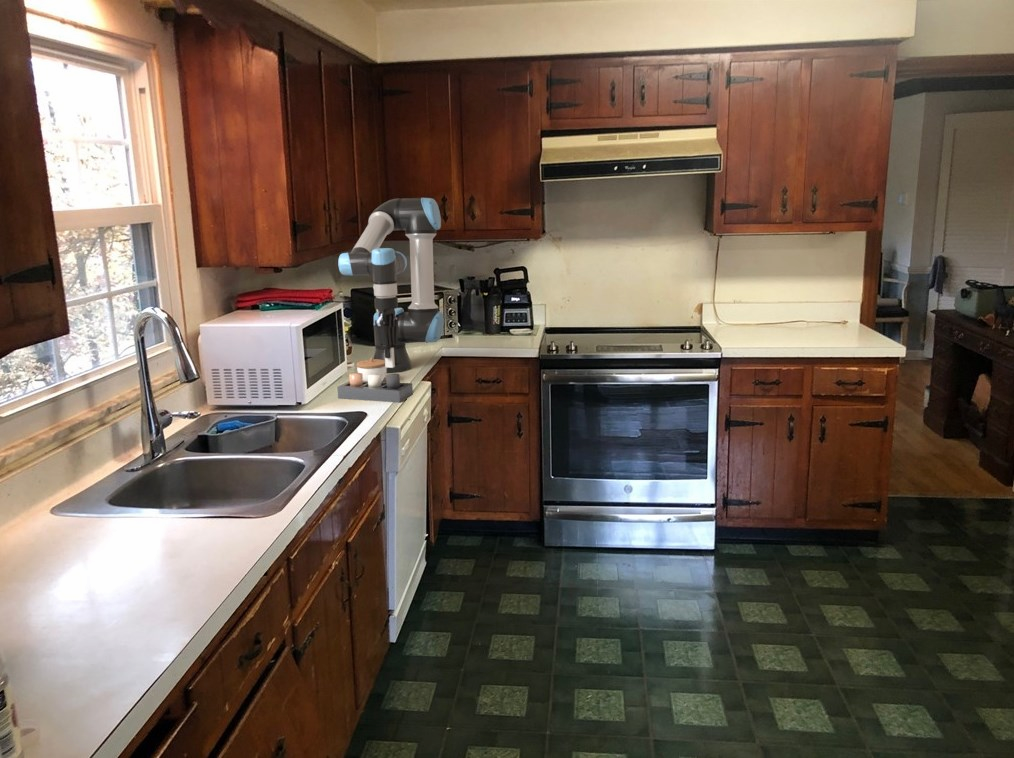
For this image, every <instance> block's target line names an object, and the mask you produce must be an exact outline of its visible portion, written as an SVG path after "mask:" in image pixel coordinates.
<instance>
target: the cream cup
mask: <svg viewBox="0 0 1014 758" xmlns="http://www.w3.org/2000/svg"><path fill="white" fill-rule="evenodd" d="M381 386H382V385H381V374H370V375H368V387H374V388H379V387H381Z"/></svg>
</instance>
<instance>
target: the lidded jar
mask: <svg viewBox="0 0 1014 758" xmlns="http://www.w3.org/2000/svg"><path fill="white" fill-rule="evenodd" d="M373 358H374V357H370V358H369V359H364V360H359V361H357V363H356V368H357V369H356V370H357V373H362V376H363V381H368V375H370V374H381V382H384V380H385V379H386V375H387V373H386V372H387V367H385V360H380V359H373Z"/></svg>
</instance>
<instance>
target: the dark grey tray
mask: <svg viewBox="0 0 1014 758" xmlns="http://www.w3.org/2000/svg"><path fill="white" fill-rule="evenodd" d="M381 385H382V386H381V387H379V388H374V387H368V381H363V385H362V386H360V387H358V386H350V380H349V381H347V382H344V383H343V384H340V385H338V386H336V387H337V398H338V399H342V400H359V401H369V402H370V401H374V402H375V401H376V402H384V403H385V402H388V403H401V402H403V401H405V400H407V399H408V398H410V397H412V396H413V394H414V392H413V391H414V390H413V383H408V382H400V388H399V389H390V388H387V381H382V382H381Z"/></svg>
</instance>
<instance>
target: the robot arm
mask: <svg viewBox="0 0 1014 758" xmlns="http://www.w3.org/2000/svg"><path fill="white" fill-rule="evenodd" d="M439 208H440V207H439V205H438V202H437V201H436V200H435V198H431V197H412V198H411V197H410V198H407V197H406V198H393V199H392V198H391V199H389V200H387V201H386V202H384V203H381V204H380V205H379V206H377V208H375V209H374V210H373V211H372V213H370V215H369V217H368V222H367V226H366V227H365V229H364V231H363V232H362V234H361V235H360V237H359V239H358V240H357V242H356V243H355V244H354V246H353V248H352V250H351V252H344V253H343V252H342V253H341V254H340V255H339V257H338V259H337V260H338V262H337V263H338V264H337V265H338V270H339V272H340V274H341V275H344V276H351V277H352V276H372V281H373V283H372V284H373V286H372V289H373V296H374V309H376V310H377V311H376V312H375V313H374V315H373V323H372V324H373V332H374V333H373V335H374V347H375V350H374V354H373V357H372V358H373V359H380V360H385V367H387V372H386V374H390V373H400V372H405V371H408V370H410V369H411V368H412V361H411V358H410V356H409V354H408V350H407V347H406V343H426V344H428V343H436V342H438V341H439V340H440V339H441V337H442V334H443V329H444V323H445V319H444V313H443V312H441V311H439V306H438V304H436V302H435V283H434V282H435V281H434V275H435V274H434V247H433V242H434V241H433V239H434V238H435V237H436V236H437V231H438V230H440V229H441V228H442V227H441V226H442V218H441V213H440V212H441V211H440V209H439ZM393 231H394V232H395V231H405V235H404V236H406V237H407V238H408V239H409V255H410V256H409V258H410V260H409V262H410V288H411V289H410V291H411V303H410V305H409V306H407V311H405V310H404V308H402V307H399V301H398V299H399V298H398V283H397V275H399V274H401V273H403V272H404V271H405V270H406V268H407V266H408V260H407V257H406V256H405V255H404V254H403V253H402V252H400V251H395V249H394V248H391V247H390V248H389V247H385V248H384V247H381V246H382V244H383V242H384V240H386V239H385V238H386V237H387V235H390V234H391V233H392V232H393Z"/></svg>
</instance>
